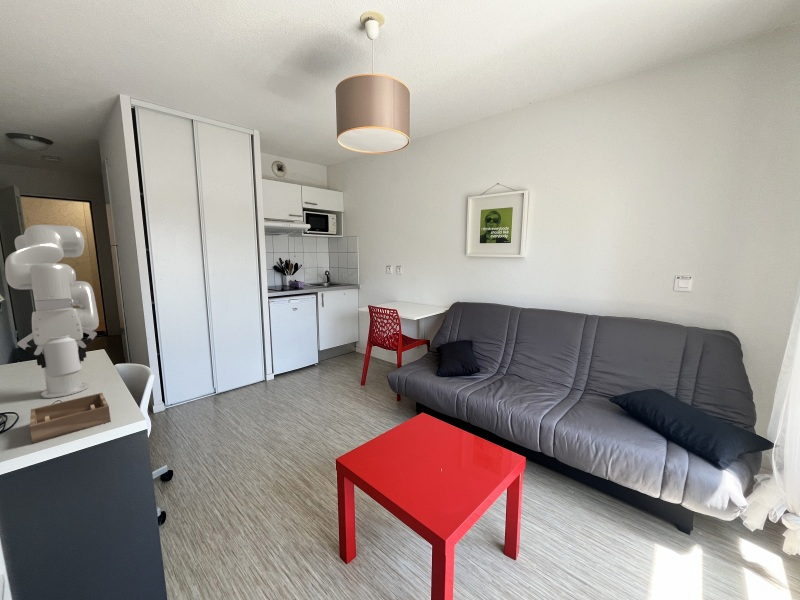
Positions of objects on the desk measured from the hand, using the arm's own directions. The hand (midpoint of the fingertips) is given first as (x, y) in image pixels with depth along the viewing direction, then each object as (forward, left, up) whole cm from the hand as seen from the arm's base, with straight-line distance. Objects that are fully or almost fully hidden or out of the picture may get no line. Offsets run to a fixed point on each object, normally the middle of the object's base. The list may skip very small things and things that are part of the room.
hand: (63, 363), depth 98 cm
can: (0, 0, -4) cm, 4 cm away
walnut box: (+1, 0, -19) cm, 19 cm away
